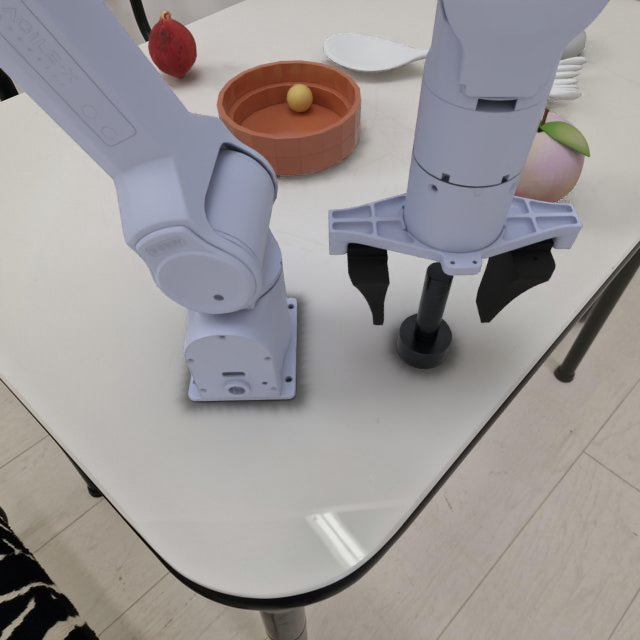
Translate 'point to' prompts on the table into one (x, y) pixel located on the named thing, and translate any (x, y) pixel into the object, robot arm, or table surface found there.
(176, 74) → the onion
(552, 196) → the decorative fruit
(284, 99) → the bowl
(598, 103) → the table surface
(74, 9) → the robot arm
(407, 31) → the table surface
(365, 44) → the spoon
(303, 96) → the ball
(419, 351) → the black joystick
